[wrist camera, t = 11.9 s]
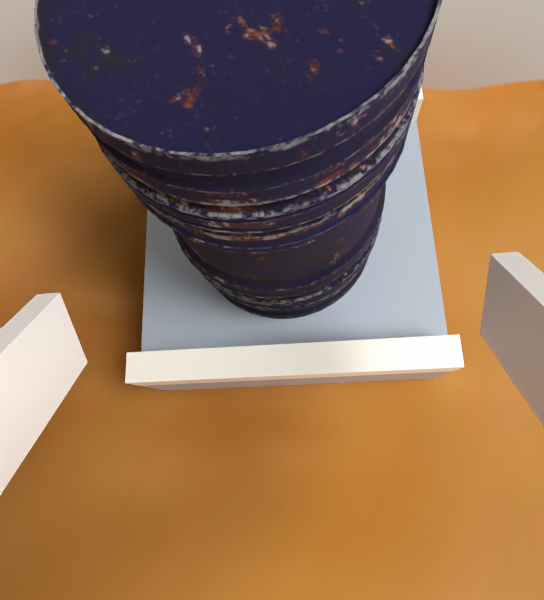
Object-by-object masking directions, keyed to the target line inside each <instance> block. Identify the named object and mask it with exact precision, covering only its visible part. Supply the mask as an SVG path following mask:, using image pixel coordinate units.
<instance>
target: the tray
mask: <svg viewBox="0 0 544 600" xmlns="http://www.w3.org/2000/svg"><path fill="white" fill-rule="evenodd" d="M422 101H423V93H422V87H421V89H420V93H419V97H418V100H417V104H416V107H415V110H414V114H413V117H412V120H411V124H410V127H409V130H408V134H407V138H406V141H405V145H404V149H403V152H402V154H401V156H400V158H399V160H398V162H397V164H396V166H395V169H394V171H393V172H392V174H391V175H390V176H389V178H388V180H387V181H386V192H385V202H384V208H383V212H382V219H381V224H380V227H379V231H378V235H377V238H376V241H375V244H374V246H373V249H372V251H371V253H370V255H369V257H368V260H367V263H366V265H365V268H364V270H363V272H362V274H361V276H360V277H359V279H358V280H357V281H356V283H355V284H354V286H353V287H352V288H351V289H350V290H349V291H348V292H347V293H346V294H345V295H344V296H343V297H342V298H340V299H339V300H338V301H336V302H335V303H334V304H332V305H331V306H329V307H327V308H325V309H323V310H321V311H319V312H316V313H313V314H311V315H308V316H303V317H298V318H293V319H274V318H265V317H261V316H258V315H254V314H251V313H249V312H247V311H244V310H242V309H240V308H238V307H237V306H235V305H234V304H232V303H231V302H229V301H228V300H227V299H226V298H225V297H224V296H223V295H222V294H221V293H220V292H219V291H218V290H217V289H216V288H215V287H213V286H212V285H211V284H210V283H209V282H208V281H207V280H206V279H205V278H204V277H203V276H202V274H201V273H200V272H199V271H198V270H197V269H196V268H195V267H194V266H193V265H192V264H191V263H190V261H189V260H188V258H187V257H186V256H185V254H184V253H183V251H182V249H181V247H180V245H179V243H178V241H177V239H176V236H175V234H174V232H173V229H172V228H170V227H169V226H167V225H166V224H164V223H163V222H161V221H160V220H159V219H158V218H157V217H155V216H154V215H153V214H152V213H151V212H150V211H149V210H148V209H147V229H146V252H145V275H144V298H143V321H142V344H141V352H127V357H126V376H125V383H127V384H132V385H138V386H143V387H148V388H154V389H159V390H164V391H169V390H191V389H213V388H235V387H257V386H279V385H302V384H324V383H346V382H368V381H390V380H412V379H433V378H436V377H438V376H441V375H444V374H447V373H449V372H452V371H455V370H458V369H460V368H463V367H464V362H463V355H462V349H461V342H460V335H447V328H446V321H445V314H444V307H443V300H442V293H441V286H440V280H439V273H438V266H437V259H436V252H435V245H434V238H433V231H432V225H431V218H430V211H429V204H428V197H427V190H426V183H425V177H424V170H423V163H422V156H421V149H420V142H419V135H418V128H417V122H416V120H417V117H418V114H419V111H420V107H421V104H422Z"/></svg>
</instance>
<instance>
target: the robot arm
mask: <svg viewBox="0 0 544 600" xmlns="http://www.w3.org/2000/svg"><path fill="white" fill-rule="evenodd" d="M480 334H481V336H482V337H483V339H484V340H485V341H486V343H487V344H488V346H489V347H490V349H491V350H492V352H493V353H494V355H495V356H496V358H497V359H498V360H499V362H500V363H501V365H502V366H503V368H504V369H505V371H506V372H507V374H508V375H509V376H510V378H511V379H512V381H513V382H514V384H515V385H516V387H517V388H518V390H519V391H520V393H521V394H522V395H523V397H524V398H525V400H526V401H527V403H528V404H529V406H530V407H531V409H532V410H533V411H534V413H535V414H536V416H537V417H538V419H539V420H540V422H541V423H542V425H543V426H544V273H543V272H541V271H540V270H539V269H538V268H537V267H536V266H534V265H533V264H532V263H531V262H530V261H529V260H527V259H526V258H525V257H524V256H523V255H522V254H520V253H519V252H509V253H497V254H491V256H490V263H489V270H488V278H487V285H486V292H485V300H484V307H483V314H482V322H481V329H480ZM86 364H87V360H86V357H85V355H84V352H83V350H82V347H81V345H80V342H79V340H78V337H77V335H76V332H75V330H74V327H73V324H72V322H71V319H70V317H69V314H68V312H67V309H66V307H65V304H64V302H63V299H62V297H61V294H60V292H59V293H48V294H37V295H36V296H35V297H34V298H33V299H32V300H30V301H29V302H28V303H27V304H26V305H25V306H24V307H23V308H22V309H21V310H20V311H19V312H18V313H17V314H16V315H15V316H14V317H13V318H11V319H10V320H9V321H8V322H7V323H6V324H5V325H4V326H3V327H2V328H1V329H0V495H1V493H2V492H3V490H4V489H5V487H6V486H7V484H8V483H9V481H10V480H11V478H12V477H13V475H14V474H15V472H16V471H17V469H18V468H19V466H20V464H21V463H22V461H23V460H24V458H25V457H26V455H27V454H28V452H29V451H30V449H31V448H32V446H33V445H34V443H35V442H36V440H37V439H38V437H39V436H40V434H41V432H42V431H43V429H44V428H45V426H46V425H47V423H48V422H49V420H50V419H51V417H52V416H53V414H54V413H55V411H56V410H57V408H58V407H59V405H60V404H61V402H62V401H63V399H64V397H65V396H66V394H67V393H68V391H69V390H70V388H71V387H72V385H73V384H74V382H75V381H76V379H77V378H78V376H79V375H80V373H81V372H82V370H83V369H84V367H85V365H86Z"/></svg>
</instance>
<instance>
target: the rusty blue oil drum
mask: <svg viewBox="0 0 544 600" xmlns="http://www.w3.org/2000/svg"><path fill="white" fill-rule="evenodd" d="M441 2H442V0H36V2H35V8H34V16H35V19H34V20H35V36H36V41H37V45H38V49H39V54H40V58H41V60H42V63H43V65H44V67H45V69H46V71H47V73H48V75H49V78H50V80H51V82H52V83H53V84H54V86H55V87H56V88H57V90H58V91H59V92H60V94H61V95H62V96H63V98H64V99H65V100H66V102H67V103H68V104H69V106H70V107H71V108H72V109H73V110H74V112H75V113H76V114H77V115H78V117H79V118H80V119H81V120H82V122H83V123H84V124H85V125H86V126H87V127H88V128H89V130H90V131H91V132H92V134H93V135H94V136H95V138H96V140H97V142H98V144H99V146H100V148H101V150H102V152H103V153H104V155H105V156H106V157H107V159H108V160H109V161H110V163H111V164H112V165H113V167H114V168H115V170H116V171H117V172H118V173H119V174H120V176H121V177H122V178H123V179H124V181H125V182H126V183H127V184H128V185H129V187H130V188H131V189H132V190H133V191H134V193H135V194H136V195H137V197H138V198H139V199H140V201H141V202H142V204H143V205H144V206H145V207H146V208H147V209H148V210H149V211H150V212H151V213H152V214H153V215H154V216H155V217H157V218H158V219H159V220H160V221H161V222H163V223H164V224H166V225H167V226H169V227H170V228H172V229H173V232H174V234H175V236H176V239H177V241H178V243H179V245H180V247H181V249H182V251H183V253H184V254H185V256H186V257H187V258H188V260H189V261H190V263H191V264H192V265H193V266H194V267H195V268H196V269H197V270H198V271H199V272H200V273H201V274H202V276H203V277H204V278H205V279H206V280H207V281H208V282H209V283H210V284H211V285H212V286H213V287H215V288H216V289H217V290H218V291H219V292H220V293H221V294H222V295H223V296H224V297H225V298H226V299H227V300H228V301H229V302H231V303H232V304H234V305H235V306H237V307H238V308H240V309H242V310H244V311H247V312H249V313H251V314H254V315H258V316H261V317H265V318H274V319H293V318H298V317H303V316H308V315H311V314H313V313H316V312H319V311H321V310H323V309H325V308H327V307H329V306H331V305H332V304H334V303H335V302H336V301H338V300H339V299H340V298H342V297H343V296H344V295H345V294H346V293H347V292H348V291H349V290H350V289H351V288H352V287H353V286H354V284H355V283H356V281H357V280H358V279H359V277H360V276H361V274H362V272H363V270H364V268H365V265H366V263H367V260H368V257H369V255H370V253H371V251H372V249H373V246H374V244H375V241H376V238H377V235H378V231H379V227H380V224H381V219H382V212H383V208H384V202H385V192H386V181H387V180H388V178H389V176H390V175H391V174H392V172H393V171H394V169H395V166H396V164H397V162H398V160H399V158H400V156H401V154H402V152H403V149H404V145H405V141H406V138H407V134H408V130H409V127H410V124H411V120H412V117H413V114H414V110H415V107H416V104H417V100H418V97H419V93H420V89H421V85H422V82H423V72H424V62H425V58H426V54H427V51H428V47H429V45H430V42H431V38H432V35H433V31H434V28H435V24H436V20H437V17H438V14H439V10H440V6H441Z"/></svg>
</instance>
